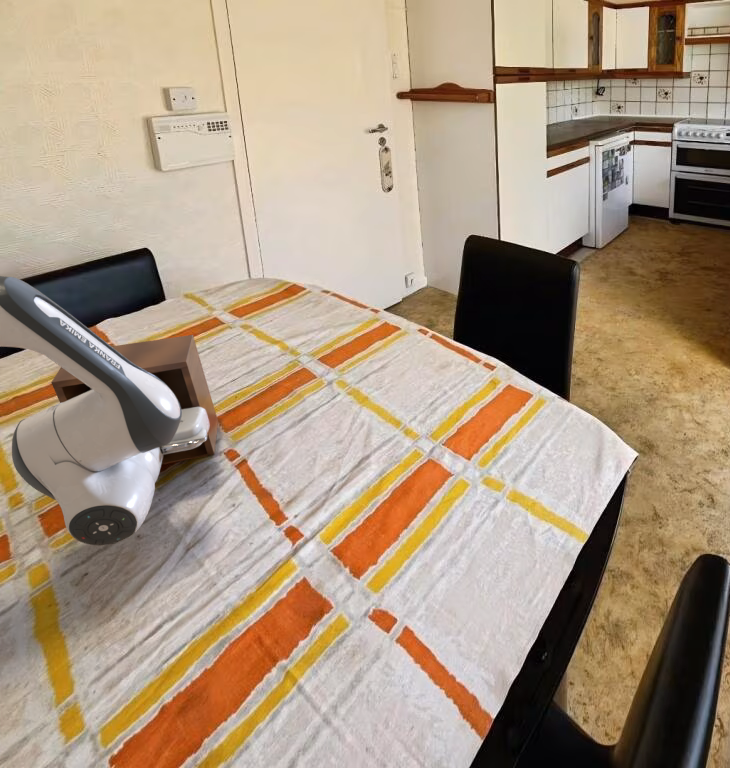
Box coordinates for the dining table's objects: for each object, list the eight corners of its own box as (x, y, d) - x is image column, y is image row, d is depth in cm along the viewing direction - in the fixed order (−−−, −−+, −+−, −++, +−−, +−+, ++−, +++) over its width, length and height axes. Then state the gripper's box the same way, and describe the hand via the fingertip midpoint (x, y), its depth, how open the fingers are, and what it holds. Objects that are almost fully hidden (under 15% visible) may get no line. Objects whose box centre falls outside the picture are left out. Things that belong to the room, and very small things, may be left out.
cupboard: (93, 482, 99) (51, 382, 90) (107, 445, 108) (70, 352, 99) (215, 458, 104) (186, 361, 95) (219, 425, 113) (192, 334, 105)
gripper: (200, 425, 90) (207, 383, 102) (37, 454, 84) (64, 406, 96) (211, 460, 93) (217, 416, 105) (54, 491, 87) (78, 440, 99)
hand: (143, 411), depth 100 cm, fingers closed on beer can, 5 cm apart
